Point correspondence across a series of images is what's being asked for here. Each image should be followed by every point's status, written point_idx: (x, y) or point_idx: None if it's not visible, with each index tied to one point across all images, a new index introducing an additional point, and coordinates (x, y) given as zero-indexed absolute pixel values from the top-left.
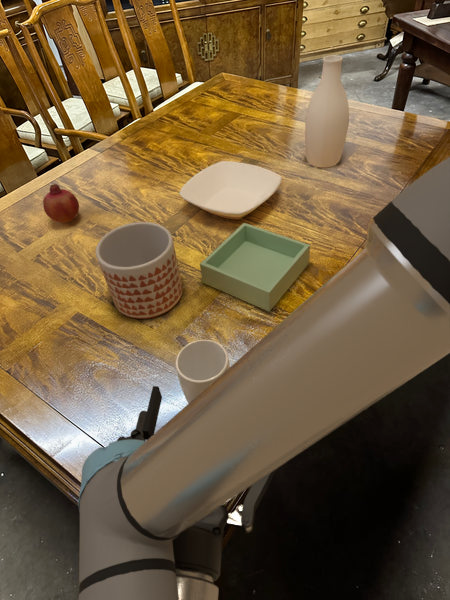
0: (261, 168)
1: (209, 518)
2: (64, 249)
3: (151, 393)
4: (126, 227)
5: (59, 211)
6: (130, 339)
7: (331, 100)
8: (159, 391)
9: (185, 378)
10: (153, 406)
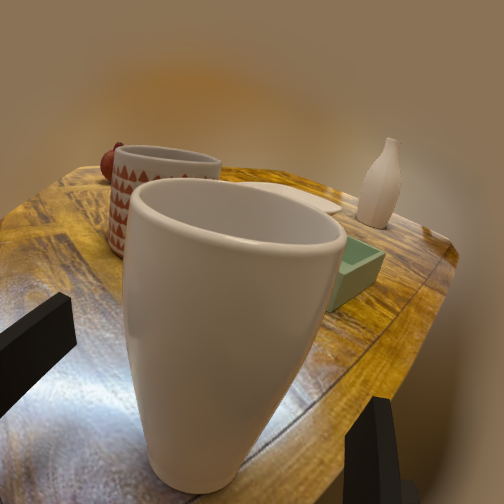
0: (321, 198)
1: None
2: (96, 194)
3: (43, 303)
4: (167, 150)
5: (111, 164)
6: (101, 277)
7: (390, 167)
8: (70, 317)
9: (145, 213)
10: (22, 331)
